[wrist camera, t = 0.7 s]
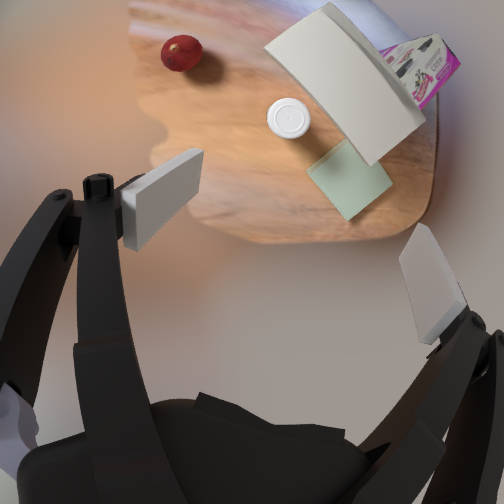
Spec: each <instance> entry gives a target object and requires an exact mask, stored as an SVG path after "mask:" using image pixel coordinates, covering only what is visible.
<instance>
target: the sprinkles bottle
mask: <svg viewBox="0 0 504 504" xmlns="http://www.w3.org/2000/svg"><path fill="white" fill-rule="evenodd" d="M266 116H267V122H268V125H269V127H270V129H271V130H272V131H273V132H274V133H275V134H276V135H277V136H279V137H282V138H285V139H295V138H298V137H300V136H302V135H303V134H304V133H305V132H306V131H307V130H308V128H309V126H310V122H311V116H310V112H309V110H308V108H307V107H306V106H305V105H304V104H303V103H302V102H301V101H299V100H296V99H293V98H284V99H280V100H278V101H276V102H275V103H274V104H272V105H271V106H270V107H269V108H268V110H267V113H266Z"/></svg>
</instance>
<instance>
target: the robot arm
mask: <svg viewBox="0 0 504 504" xmlns="http://www.w3.org/2000/svg"><path fill="white" fill-rule="evenodd" d="M203 155H204V150H201V149H197V148H190V149H189V150H187V151H185V152H183V153H181V154H179V155H178V156H176V157H174V158H172V159H170V160H169V161H167V162H165V163H164V164H162V165H160V166H158V167H157V168H155V169H153V170H152V171H150V172H148V173H147V174H142V175H138V176H135V177H133V178H132V179H130V180H129V181H127V182H126V183H124V185H123V184H122V185H121V186H119V187H117V188H116V189H114V182H113V176H111V175H110V174H105V173H101V174H94V175H91V176H88V177H87V178H85V179H84V181H83V191H84V201H80V200H73V194H72V191H70V190H68V189H58V190H55V191H54V192H52V193H50V194H49V195H48V196H47V197H46V198H45V199H44V201H43V202H42V204H41V205H40V206H39V207H38V209H37V210H36V211H35V213H34V214H33V216H32V217H31V218H30V220H29V221H28V223H27V224H26V226H25V227H24V229H23V230H22V232H21V233H20V235H19V236H18V238H17V239H16V241H15V243H14V244H13V246H12V248H11V249H10V251H9V252H8V254H7V256H6V257H5V259H4V261H3V263H2V265H1V266H0V468H2V469H3V470H4V471H5V472H6V473H7V474H9V475H10V476H11V477H12V478H13V479H15V480H16V481H17V490H18V496H19V504H412V502H413V501H414V500H415V498H416V497H417V496H418V494H419V493H420V492H421V490H422V489H423V487H424V486H425V484H426V483H427V481H428V480H429V478H430V477H431V475H432V474H433V472H434V471H435V472H434V474H433V476H432V479H431V481H430V484H429V486H428V488H427V491H426V493H425V496H424V498H423V500H422V503H421V504H496V501H497V492H498V489H499V485H500V481H501V477H502V473H503V468H504V333H503V332H502V331H501V330H496V331H495V332H494V333H493V334H492V335H490V334H488V333H487V332H486V325H485V323H484V321H483V320H482V318H481V317H480V316H479V315H478V314H477V313H475V312H474V311H470V309H469V306H468V304H467V302H466V300H465V297H464V296H463V292H462V291H461V288H460V286H459V283H458V282H457V280H456V278H455V276H454V274H453V272H452V270H451V268H450V266H449V264H448V262H447V260H446V258H445V256H444V254H443V253H442V251H441V249H440V247H439V245H438V243H437V242H436V240H435V238H434V236H433V234H432V233H431V231H430V229H429V227H427V226H425V225H423V224H421V223H419V222H418V224H417V226H416V228H415V230H414V232H413V233H412V235H411V237H410V239H409V241H408V242H407V244H406V246H405V248H404V249H403V251H402V253H401V255H400V256H399V258H398V259H399V263H400V266H401V269H402V272H403V276H404V279H405V283H406V286H407V290H408V294H409V298H410V302H411V306H412V310H413V314H414V318H415V323H416V327H417V332H418V337H419V342H421V343H425V344H429V345H432V343H433V342H434V341H435V340H436V339H437V338H438V337H439V338H440V342H441V343H440V344H439V345H438V346H437V347H436V348H435V349H434V350H433V351H432V352H431V353H430V354H429V355H428V356H427V357H426V358H427V359H428V358H429V357H430V358H429V360H428V361H427V363H426V364H425V366H424V367H423V368H422V370H421V371H420V373H419V374H418V376H417V377H416V379H415V380H414V381H413V383H412V384H411V386H410V387H409V388H408V390H407V391H406V392H405V394H404V395H403V396H402V398H401V399H400V400H399V402H398V403H397V404H396V405H395V407H394V408H393V409H392V410H391V411H390V413H389V414H388V415H387V416H386V417H385V418H384V420H383V421H382V422H381V423H380V424H379V425H378V427H377V428H376V429H375V430H374V431H373V432H372V433H371V434H370V435H369V436H368V437H367V439H365V440H364V441H363V442H362V443H361V444H360V445H359V446H357V447H356V446H355V445H354V444H352V443H351V442H349V441H348V440H346V439H344V436H345V429H339V428H333V427H326V426H321V425H315V424H300V425H274V424H271V423H269V422H267V421H265V420H263V419H261V418H259V417H258V416H256V415H254V414H252V413H250V412H249V411H247V410H245V409H243V408H242V407H240V406H238V405H236V404H233V403H230V402H227V401H224V400H221V399H218V398H215V397H212V396H210V395H207V394H204V393H201V392H199V394H198V397H197V399H196V400H193V399H169V400H164V401H160V402H156V403H153V404H150V401H149V398H148V395H147V392H146V389H145V385H144V382H143V378H142V375H141V371H140V367H139V363H138V359H137V356H136V351H135V347H134V342H133V338H132V334H131V329H130V324H129V318H128V313H127V308H126V302H125V296H124V289H123V283H122V276H121V268H120V260H119V250H118V240H119V239H120V238H121V237H122V236H123V242H124V247H126V248H129V249H131V250H134V251H137V252H138V251H139V250H140V249H141V248H142V247H143V246H144V245H145V244H146V243H147V242H148V241H149V240H150V239H151V238H152V236H154V235H155V234H156V233H157V232H158V231H159V230H160V229H161V228H162V227H163V226H164V225H165V223H167V222H168V221H169V220H170V219H171V218H172V217H173V216H174V215H175V214H176V213H177V212H178V211H179V210H180V209H181V208H182V207H183V206H184V205H185V204H186V203H187V202H188V201H189V200H191V199H192V198H193V197H194V196H195V195H196V194H197V193H198V190H199V183H200V175H201V168H202V161H203ZM78 247H79V251H78V267H77V326H78V343H75V344H74V347H73V357H74V367H75V377H76V384H77V392H78V398H79V404H80V409H81V415H82V420H83V424H84V429H85V432H82V433H79V434H76V435H73V436H70V437H67V438H64V439H62V440H58V441H55V442H52V443H49V444H45V445H42V446H39V447H38V445H37V443H36V439H35V436H36V435H37V434H38V431H39V426H38V424H37V421H36V416H35V413H34V410H33V406H34V403H35V399H36V396H37V392H38V386H39V382H40V376H41V371H42V365H43V360H44V356H45V351H46V347H47V342H48V338H49V334H50V330H51V326H52V323H53V319H54V316H55V312H56V309H57V305H58V302H59V299H60V296H61V293H62V290H63V287H64V284H65V281H66V278H67V275H68V273H69V270H70V267H71V265H72V262H73V259H74V257H75V255H76V252H77V250H78ZM485 372H486V373H485ZM484 373H485V374H484ZM483 374H484V375H483ZM482 375H483V376H482ZM449 425H450V426H449ZM448 427H449V430H448V433H447V437H446V440H445V443H444V441H443V440H442V438H443V437H444V435H445V433H446V431H447V429H448Z"/></svg>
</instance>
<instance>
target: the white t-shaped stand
mask: <svg viewBox="0 0 504 504" xmlns="http://www.w3.org/2000/svg"><path fill="white" fill-rule="evenodd" d="M264 52H265V53H267V54H268V55H269V56H270V57H271V58H272V59H273V60H274V61H275V62H276V63H277V64H278V65H279V66H281V67H282V68H283V69H284V70H285V71H286V72H287V73H288V74H289V75H290V76H291V77H292V78H293V79H294V80H295V81H296V82H297V83H298V84H299V85H300V86H301V87H302V89H303V90H304V91H305V92H306V93H307V94H308V95H309V96H310V97H311V98H312V99H313V100H314V101H315V103H316V104H317V105H318V106H319V107H320V108H321V109H322V110H323V112H324V113H325V114H326V115H327V116H328V117H329V118H330V120H331V121H332V122H333V123H334V124H335V126H336V127H337V128H338V129H339V130H340V132H341V133H342V134H343V135H344V137H345V138H346V139H347V140H348V142H349V143H350V144H351V146H352V147H353V148H354V150H355V151H356V152H357V154H358V155H359V156H360V158H361V159H362V160H363V162H364V163H365V164H366V165H368V166H372V165H373V164H374V163H375V162H376V161H378V160H379V159H380V158H381V157H383V156H384V155H385V154H386V153H387V152H389V151H390V150H391V149H392V148H393V147H395V146H396V145H397V144H398V143H400V142H401V141H402V140H403V139H404V138H406V137H407V136H408V135H409V134H410V133H412V132H413V131H414V130H415V129H416V128H418V127H419V126H420V125H421V124H422V123H424V122H425V121H426V118H425V117H424V115H423V113H422V112H421V110H420V108H419V107H418V105H417V104H416V102H415V101H414V99H413V97H412V96H411V94H410V93H409V91H408V90H407V89H406V87H405V86H404V84H403V83H402V81H401V80H400V79H399V77H398V76H397V74H396V73H395V72H394V70H393V69H392V68H391V67H390V65H389V64H388V63H387V61H386V60H385V59H384V58H383V56H382V55H381V54H380V53H379V52H378V50H377V49H376V48H375V47H374V46H373V44H372V43H371V42H370V41H369V40H368V39H367V38H366V37H365V35H364V34H363V33H362V32H361V31H360V30H359V29H358V28H357V27H356V26H355V25H354V24H353V23H352V22H351V21H350V20H349V19H348V18H347V17H346V16H345V15H344V14H343V13H342V12H341V11H340V10H339V9H338V8H337V7H336V6H335V5H334V4H333V3H331V2H329V3H327V4H326V5H324V6H322V7H321V8H319V9H317V10H316V11H314V12H313V13H311V14H310V15H308V16H307V17H305V18H304V19H302V20H301V21H299V22H298V23H296V24H295V25H293V26H292V27H291V28H289V29H288V30H286V31H285V32H284V33H282V34H281V35H280V36H278V37H277V38H276V39H274V40H273V41H272V42H270V43H269V44H268V45H266V46H265V47H264Z"/></svg>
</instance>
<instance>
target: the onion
mask: <svg viewBox="0 0 504 504" xmlns="http://www.w3.org/2000/svg"><path fill="white" fill-rule="evenodd" d="M202 54H203V52H202V46H201V44H200V43H199V41H198V40H197V39H195V38H194V37H192V36H188V35H179V36H174V37H173V38H171V39H169V40H168V41H167V42H166V43H165V44H164V45H163V48H162V50H161V60H162V62H163V64H164V65H165V66H166V67H167V68H169V69H170V70H171V71H177V72H182V71H186V70H189V69H191V68H193V67H194V66H196V65H197V63H198V62H199V61H200V60H201V57H202Z"/></svg>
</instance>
